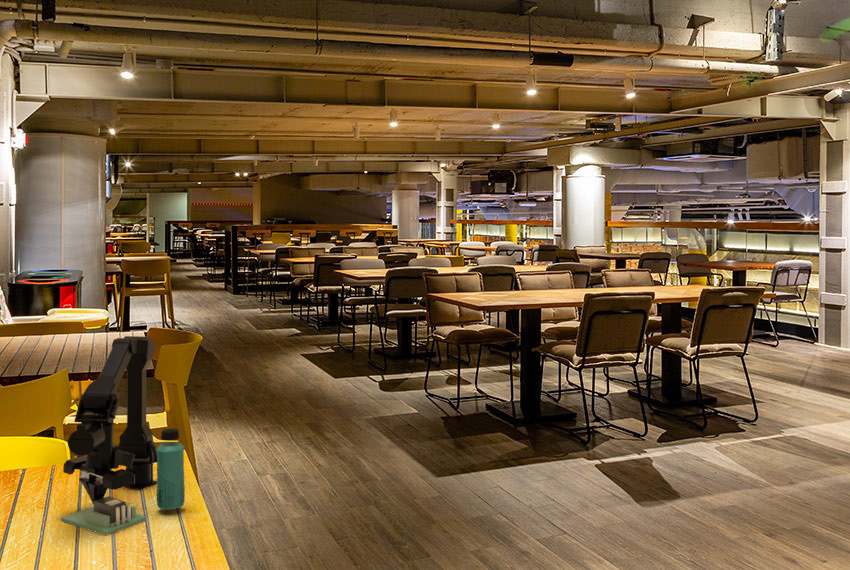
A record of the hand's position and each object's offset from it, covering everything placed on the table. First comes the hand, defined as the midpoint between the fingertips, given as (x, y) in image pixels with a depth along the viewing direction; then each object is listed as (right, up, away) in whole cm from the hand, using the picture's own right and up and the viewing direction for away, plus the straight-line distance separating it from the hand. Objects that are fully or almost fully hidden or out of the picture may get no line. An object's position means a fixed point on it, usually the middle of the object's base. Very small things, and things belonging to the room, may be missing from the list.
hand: (97, 508), depth 179 cm
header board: (+2, -3, -1) cm, 3 cm away
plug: (+4, -2, -2) cm, 4 cm away
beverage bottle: (+15, -3, +6) cm, 16 cm away
